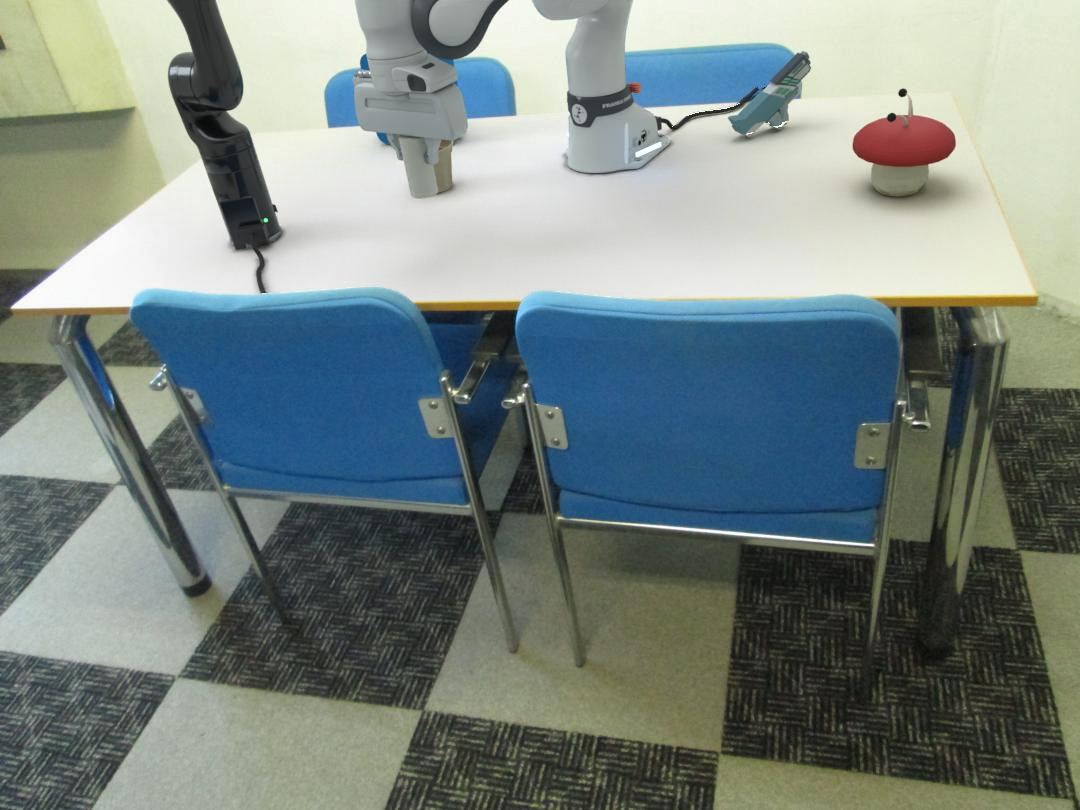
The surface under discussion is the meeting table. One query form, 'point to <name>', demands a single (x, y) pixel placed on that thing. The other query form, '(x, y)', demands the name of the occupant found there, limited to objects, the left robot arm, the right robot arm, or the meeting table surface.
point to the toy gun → (773, 98)
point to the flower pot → (444, 166)
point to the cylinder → (418, 167)
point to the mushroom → (903, 150)
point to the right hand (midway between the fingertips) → (418, 161)
